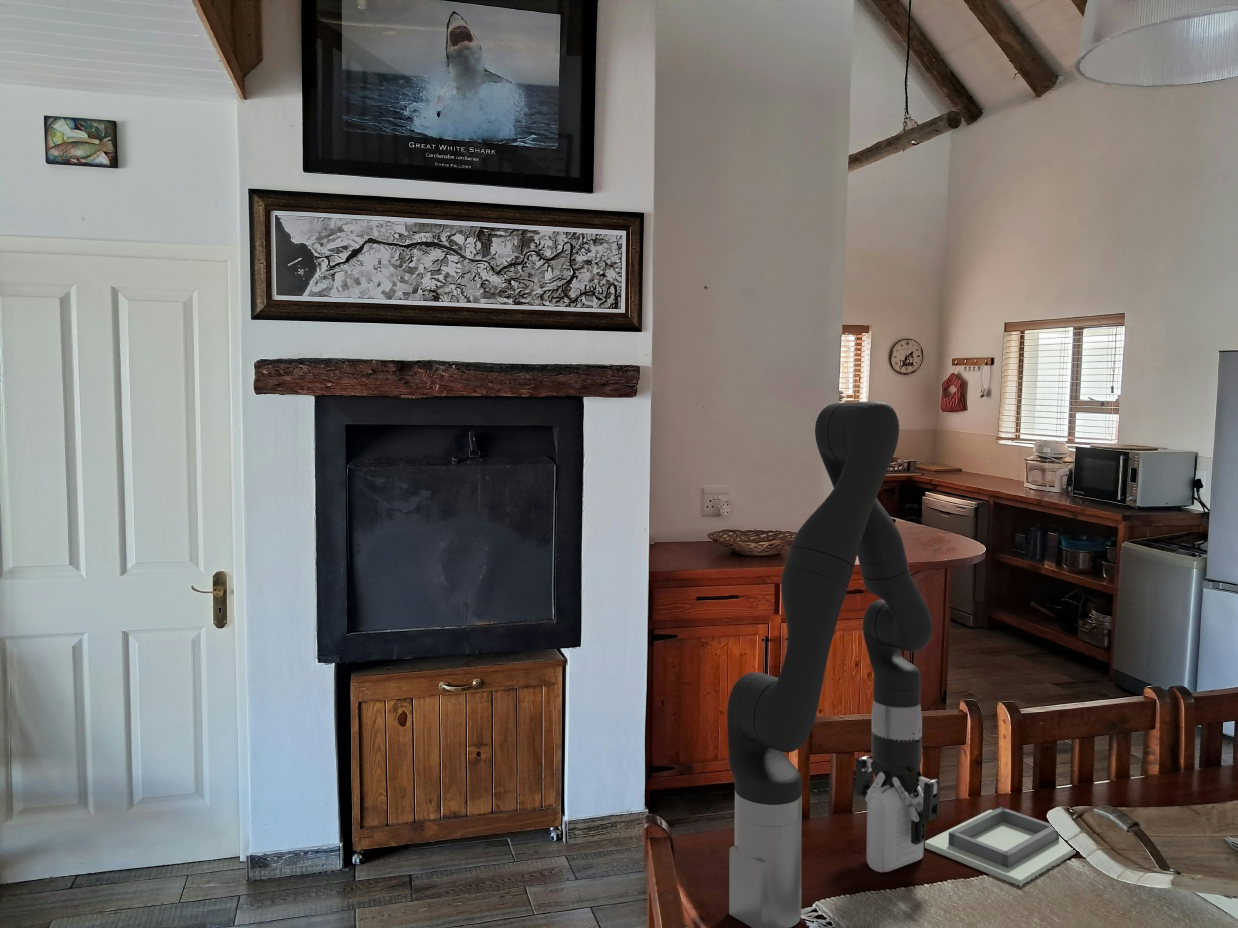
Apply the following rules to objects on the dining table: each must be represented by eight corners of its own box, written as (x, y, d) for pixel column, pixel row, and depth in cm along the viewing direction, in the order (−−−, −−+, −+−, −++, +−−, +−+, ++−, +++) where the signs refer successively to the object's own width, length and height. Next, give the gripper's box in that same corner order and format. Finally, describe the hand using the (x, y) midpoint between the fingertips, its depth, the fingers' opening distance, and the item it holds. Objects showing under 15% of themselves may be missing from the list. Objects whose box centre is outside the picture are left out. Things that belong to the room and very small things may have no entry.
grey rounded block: (905, 848, 144) (906, 772, 143) (927, 858, 140) (928, 781, 140) (862, 865, 138) (862, 786, 138) (884, 876, 135) (884, 795, 134)
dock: (1020, 886, 132) (1020, 866, 131) (924, 847, 144) (924, 829, 144) (1083, 847, 144) (1083, 829, 144) (990, 814, 156) (990, 798, 156)
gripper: (843, 722, 142) (843, 824, 142) (923, 747, 131) (922, 858, 131) (872, 713, 147) (872, 812, 147) (951, 736, 135) (950, 843, 136)
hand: (895, 833), depth 139 cm, fingers open, 7 cm apart
